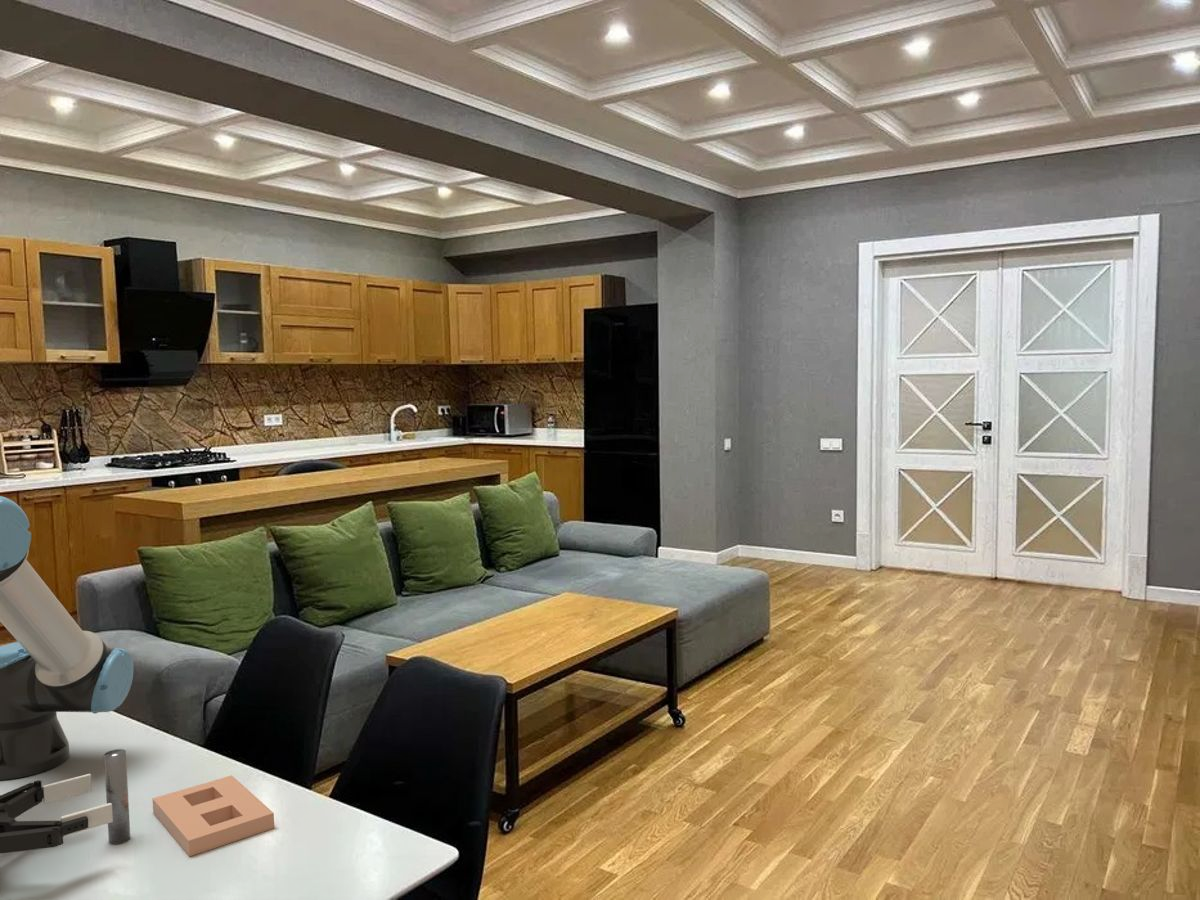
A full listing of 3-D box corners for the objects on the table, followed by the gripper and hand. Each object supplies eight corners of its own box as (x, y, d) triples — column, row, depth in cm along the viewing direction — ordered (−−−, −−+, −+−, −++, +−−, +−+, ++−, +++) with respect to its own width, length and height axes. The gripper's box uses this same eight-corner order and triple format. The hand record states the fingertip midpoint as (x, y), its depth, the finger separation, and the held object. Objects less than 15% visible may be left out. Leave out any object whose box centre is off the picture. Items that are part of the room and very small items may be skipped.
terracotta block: (153, 812, 150) (152, 798, 150) (232, 789, 159) (231, 775, 159) (189, 856, 136) (188, 840, 136) (274, 827, 144) (273, 812, 144)
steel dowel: (106, 839, 142) (101, 752, 141) (127, 832, 144) (123, 747, 142) (111, 846, 139) (106, 758, 138) (132, 839, 141) (128, 753, 140)
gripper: (-76, 836, 135) (84, 793, 149) (-59, 908, 116) (122, 851, 130) (-80, 788, 134) (81, 749, 148) (-63, 852, 115) (120, 800, 129)
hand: (101, 796), depth 139 cm, fingers open, 13 cm apart
